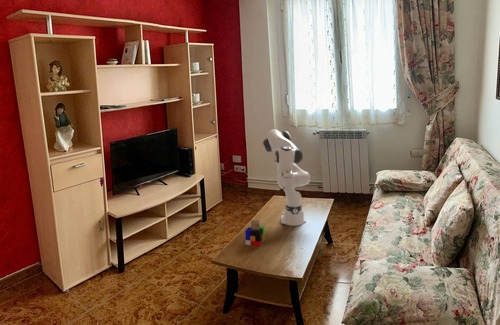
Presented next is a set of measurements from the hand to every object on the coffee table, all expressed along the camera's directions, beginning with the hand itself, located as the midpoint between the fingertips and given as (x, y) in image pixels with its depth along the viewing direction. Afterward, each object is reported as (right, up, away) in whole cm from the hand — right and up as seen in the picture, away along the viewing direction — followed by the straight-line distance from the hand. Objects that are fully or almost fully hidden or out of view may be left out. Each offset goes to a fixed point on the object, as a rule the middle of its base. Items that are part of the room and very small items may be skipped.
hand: (285, 191), depth 274 cm
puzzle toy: (-20, -35, +4) cm, 40 cm away
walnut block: (-20, -25, +2) cm, 32 cm away
